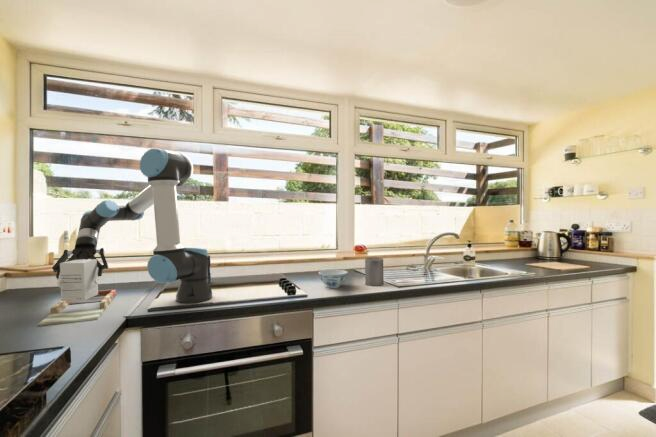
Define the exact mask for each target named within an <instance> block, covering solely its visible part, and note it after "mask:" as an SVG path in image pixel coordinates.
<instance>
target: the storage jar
mask: <svg viewBox="0 0 656 437" xmlns="http://www.w3.org/2000/svg"><path fill="white" fill-rule="evenodd" d="M211 275H212V274H211V255H210V254H208V282H209V285H210V284H211V277H212V276H211Z"/></svg>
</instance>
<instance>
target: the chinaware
mask: <svg viewBox="0 0 656 437" xmlns="http://www.w3.org/2000/svg"><path fill="white" fill-rule="evenodd" d="M348 273H349V271H347V270H344V269H337V268H336V269H335V268H334V269H331V268H329V269H323V270H322V269H321V270H320V271H318V276H319V279H320V281H321V282H322V283H323V284H324V285H325V286H326V288H328V289H338V288H340V287H341V285H342V284H343V283H344V282H346V280H347V277H348Z"/></svg>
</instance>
